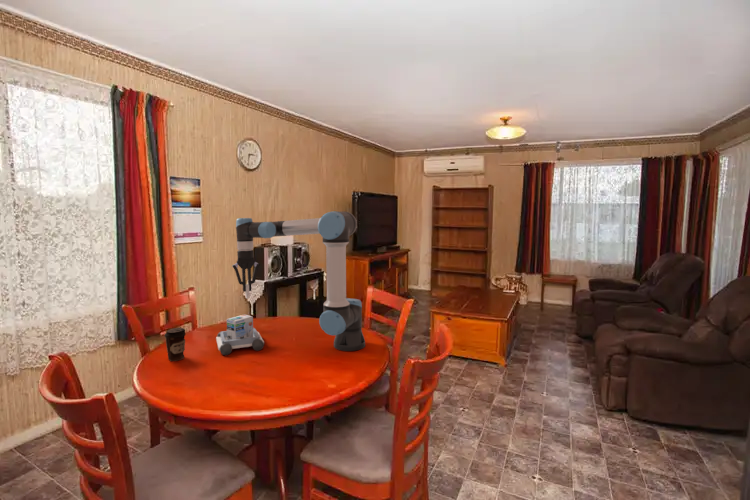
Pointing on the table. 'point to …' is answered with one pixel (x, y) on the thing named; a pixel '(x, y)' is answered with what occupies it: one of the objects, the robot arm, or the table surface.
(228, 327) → the light bulb box
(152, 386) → the table surface
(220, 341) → the chassis
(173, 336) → the coffee cup
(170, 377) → the table surface
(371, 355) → the table surface
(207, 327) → the table surface
